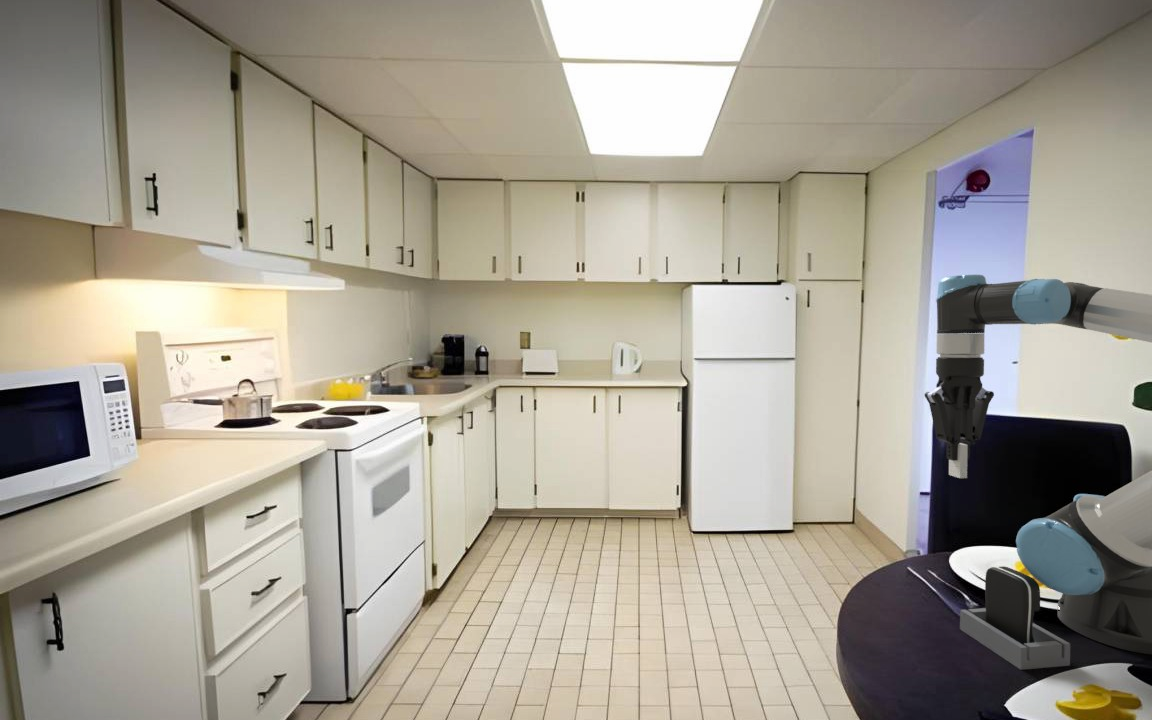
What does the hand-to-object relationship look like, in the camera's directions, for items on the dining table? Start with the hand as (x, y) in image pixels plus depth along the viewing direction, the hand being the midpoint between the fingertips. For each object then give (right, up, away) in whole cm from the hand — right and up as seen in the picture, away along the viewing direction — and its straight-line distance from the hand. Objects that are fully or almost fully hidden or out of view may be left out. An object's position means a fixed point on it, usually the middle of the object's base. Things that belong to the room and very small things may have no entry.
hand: (957, 476), depth 103 cm
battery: (-2, -24, -15) cm, 28 cm away
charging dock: (-2, -25, -15) cm, 29 cm away
